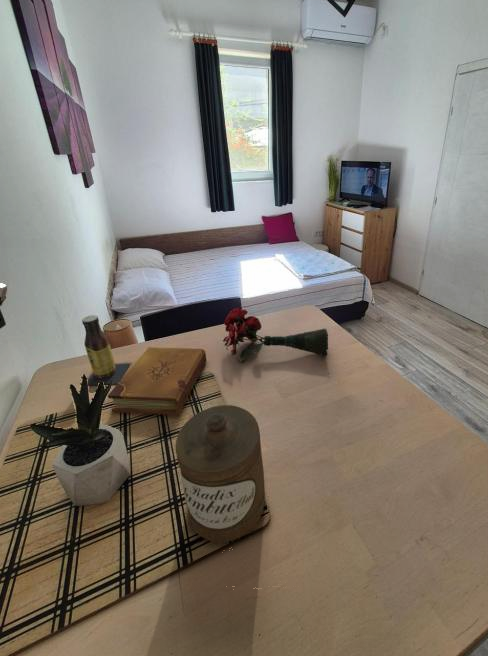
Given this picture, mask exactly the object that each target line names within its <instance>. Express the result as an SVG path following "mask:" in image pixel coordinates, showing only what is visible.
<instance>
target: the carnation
mask: <svg viewBox="0 0 488 656" xmlns="http://www.w3.org/2000/svg"><path fill="white" fill-rule="evenodd" d="M247 314H248V310H247V309H240V308H238V307H237V308H234V309H233V310H231V311H229V313H228V314H227V316H226V318H225V319H224V326H225V332H226V333H228V334H227V335H226V336H225V337H224V338H223V340H222V343H224V347H226V349H225V350H226V351H227V350H229V349H228V348H229V347H230V346H232V349H231V350H230V353H231V355H233V356H235V355H237V354H238V351H237V346H238V345H240V343H244V342H245V341H250V342H251V343H250V344H249V345H248V346H247V347H245V348H244V349H243V350H241V353H240V355H239V361H240V363H242V362H243V361H244V360H245V359H246V358H247V357H248V355H249V354H250V352H251V349H252V347H254V348H253V350H252V353H253V354H257V353H259V352H260V350H261V349H262V347H263V346H265V347H266V346H268V347H270V346H275V347H279V346H280V347H281V346H282V347H289V348H292V349H295V350H300V351H304V352H309V353H312V354H317V355H320V356H325V357H326V356H328V350H329V333H328V330H327V328H322V329H316V330H311V331H305V332H301V333H299V332H298V333H296V334H295V333H294V334H290V335H285V336H279V335H278V336H276V335H275V336H273V335H272V336H271V335H264V337H263V336H260V335H258V334H257V333H258V331H260V330H262V323H261V321H260V319H259V318H258V317H256V316H255V315H250V316H247V317H245V316H246V315H247ZM258 341H259V342H260V343H257V344H255V342H258Z"/></svg>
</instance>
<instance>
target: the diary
mask: <svg viewBox="0 0 488 656" xmlns="http://www.w3.org/2000/svg"><path fill="white" fill-rule="evenodd" d="M206 363H207V355H206V351H205V350H204V349H203V348H191V347H190V348H189V347H188V348H186V347H185V348H184V347H156V346H155V347H153V346H148V348H147V349H146V350H145V351H144V352H143V353H142V354H141V356H140V357H138V359H137V360H136V362H135V363H134V364H133V365H132V366H131V367H130V368H129V370H128V371H126V372H125V373H124V375H123V377H122V378H121V380H120V382H119V383H118V384H115V386H114V387H113V389H111V391H110V392H109V393H108V394H107V399H112V402H113V407H112V408H111V413H121V414H122V413H123V414H144V415H145V414H146V415H163V416H164V415H165V416H166V415H167V416H178V415H180V413H181V411H182V409H183V407H184V406H185V404H186V402H187V400H188V398H189V396H190V394H191V392H192V390H193V389H194V387H195V384H196V383H197V380H198V378H199V376H200V375H201V373H202V370H203V369H204V367H205V365H206Z"/></svg>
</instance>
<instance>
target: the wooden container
mask: <svg viewBox="0 0 488 656" xmlns="http://www.w3.org/2000/svg"><path fill="white" fill-rule="evenodd" d="M262 453H263V452H262V445H261V431H260V426H259V423H258V421H257V419H256V417H255V416H254V415H253V414H252V413H251V412H250V411H249V410H247V409H246V408H243V407H240V406H238V405H233V404H232V405H231V404H222V405H221V404H220V405H216V406H215V405H214V406H210V407H208V408H206V409H203V410H201V411H199V412H197V413H196V414H195V415H193V416H191V417H190V418H189V419H188V420H187V421H186V422H185V423H184V424H183V425H182V427H181V428H180V430H179V431H178V433H177V436H176V439H175V454H176V455H175V456H176V459H177V464H178V467H179V471H180V476H181V483H182V488H183V495H184V500H185V504H186V508H187V513H188V517H189V521H190V524H191V526H192V529H193V530H194V532H195V533H196V534H198V535H199V536H200V537H201V538H202V539H204V540H206V541H209V542H211V543H220V544H221V543H228V542H232V541H235V540H238V539H240V538H241V537H243V536H244V535H246V534H247V533H249V532H250V531H251V530H252V529H253V528H254V527H255V526H256V524H258V522H259V520H260V518H261V516H262V515H263V512H264V508H265V503H266V489H265V471H264V462H263V454H262Z"/></svg>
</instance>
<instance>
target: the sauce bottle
mask: <svg viewBox="0 0 488 656" xmlns="http://www.w3.org/2000/svg"><path fill="white" fill-rule="evenodd" d="M99 322H100V319H99V317H98V315H95V314H92V315H87V316H85V317H83V318H82V320H81V323H82V325H83V326H84V327H83V328H84V330H85V338H84V348H85V351H86V355H87V358H88V361H89V364H90V368H91V370H92V373H94V375H95V376H96V377H97V378H105V377H109V376H111V375H112V374H113V373H114V372H115V370H116V367H115V364H116V362H115V358H114V355H113V352H112V347H111V344H110V341H109V339H108V335H107V334H106V332H104V331H103V330H102V329H101V326H100V323H99Z"/></svg>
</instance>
